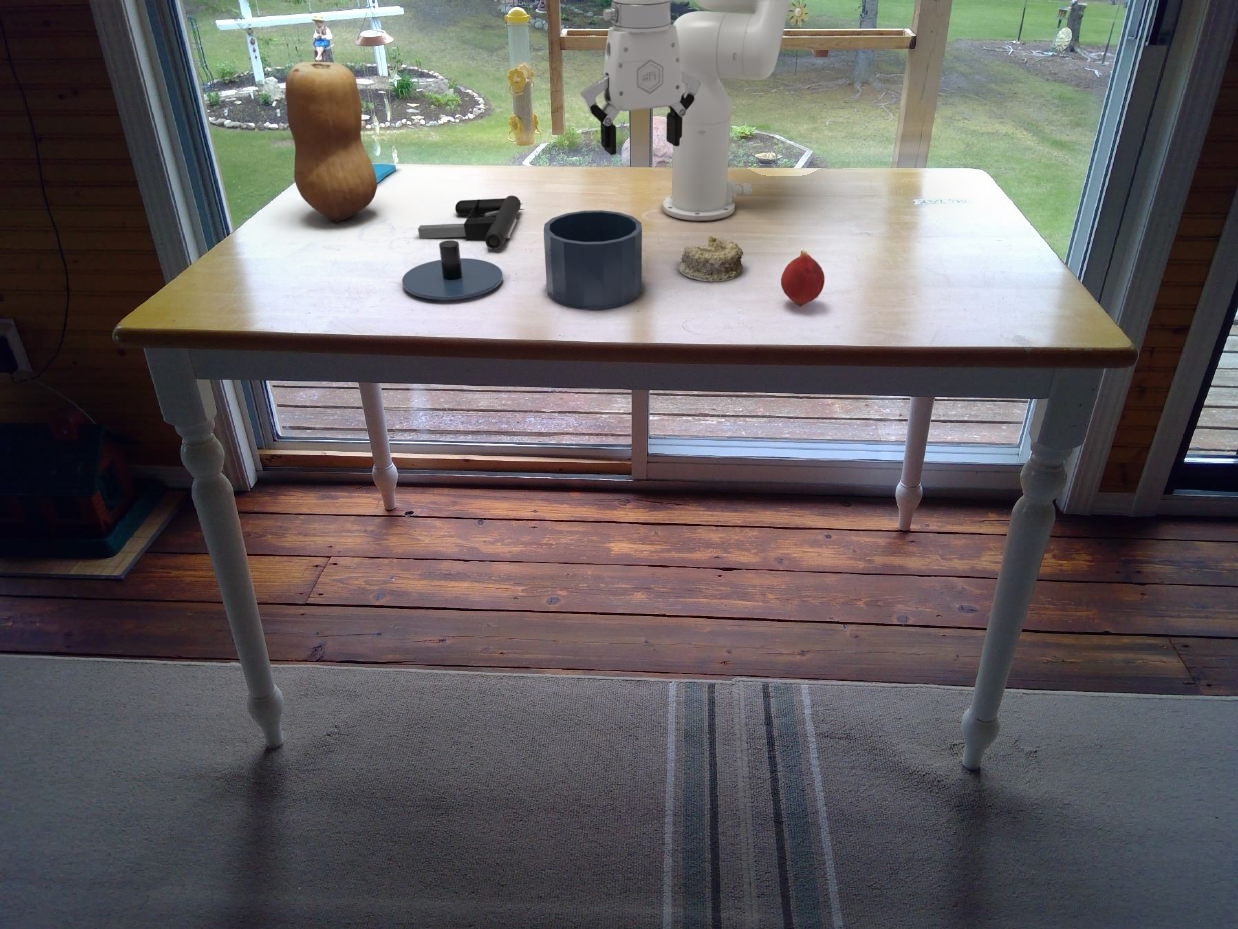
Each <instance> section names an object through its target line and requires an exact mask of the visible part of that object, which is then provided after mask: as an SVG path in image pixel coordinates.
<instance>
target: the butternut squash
mask: <svg viewBox="0 0 1238 929" xmlns="http://www.w3.org/2000/svg"><path fill="white" fill-rule="evenodd" d="M284 88H285V90H284V91H285V104H286V117H287V124H288V128H289V131H290V133H291V135H292V138H293V139H292V140H293V142H294V151H295V152H294V170H293V171H294V173H293V179H294V183H295V186H296V189H297V191H298V193H299V194H300V196H301V197H302V199H303V200H304V201H305V202H306V203H307V204H308V205H309V206H310V207H311V208H312V209H314V210H315V211H316V212H318V213H319V214H320V215H321V216H322V217H324V218H326V219H327V220H328V221H330V222H331V223H337V222H341V221H343V220H345V219H347V218H351V217H353V216H355V215H357V214H358V213H359V212H361V211H363V209H365V208H366V207H368V206H369V205H370V204H371V203H372V201H373V200H374V198H375V196H376V194H377V190H378V183H377V181H376V175H375V171H374V168H373V165H372V164H373V162H372V161H371V158H370V156H369V155H368V153H367V151H366V149H365V147H364V144H363V140H362V134H361V132H362V125H363V124H362V121H363V116H362V115H363V114H362V109H363V108H362V100H361V96H360V91H359V87H358V83H357V78H356V76H355V75H354V73H353V72H352V70H351V69H349V68H348V67H346V66H345V65H343V64H342V63H339V62H330V61H324V62H320V61H302V62H298V63H296V64H295V65H293V66H292V68H291V69H289V71H288V73H287V75H286V79H285V87H284Z"/></svg>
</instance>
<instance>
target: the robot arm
mask: <svg viewBox="0 0 1238 929" xmlns="http://www.w3.org/2000/svg"><path fill="white" fill-rule="evenodd" d="M693 1H694V2H695V4H696V5H698V6H699V7H700V8H702V9H705V10H698V11H691V12H687V13H684V14H682V15H681V16H679V17H678V18H676V20H675V21H673V24H671V3H672V2H671V0H612V1H611V5H610V6H611V7H608V8H605V9H603V11H602V14H603V15H602V17H603V20H604V21H609V22H611V24H612V26H611V27H609V28H608V33H607V38H606V44H605V50H604V51H605V52H604V62H603V76H602V77H600V78H599V79H597V80H596V81H594V82H593V83H592V84H590V85H589V86H588V87H586V88H584V89H583V90H582V91H581V92H580V97H581V98H582V100H583V102H584V104H585V106H586V108H587V110H588V112H589V113H590V114H591V115H592V116H593V117H594V118H595V119H596V120H598V122H600V144H601V147H602V148H603V150H604V151H605V152H607V154H609V155H610V156H615V155H617V126H616V125H615V124H614V121H615V119H616V118H617V117H618V115H619V113H620V112H635V111H642V110H650V109H660V108H668V109H669V112H667V114H666V136H665V137H666V138H665V139H666V142H667V143H669V144H670V145H672V164H671V165H672V167H671V168H672V169H671V195H670V196H668V197H667V198H665V199H664V200H663V201H662V211H663V212H664V213H665V214H666V215H667V216H670V217H673V218H676V219H679V220H683V221H694V222H705V221H707V222H708V221H716V220H720V219H724V218H727V217H729V216H731V215H732V214H734V212H735V210H736V209H735V208H736V204H735V201H734V200H733V199H735V198H736V197H737V196H747V195H751V194H752V191H753V188H752V185H751V183H750V182H746V183H741V184H740V183H739V184H738V182H737V181H731V182H729V181H728V176H729V175H728V174H729V173H728V172H729V158H730V157H729V156H730V137H731V120H732V104H731V99H730V97H729V94H728V92H727V91H726V89H725V86H724V85H723V83H722V82H721V80H720V79H729V80H743V81H762V80H765V79H767V78H769V77H770V76H771V75H772V74H773V73H774V70H775V68H776V66H777V63H778V59H779V55H780V50H781V46H782V41H783V36H784V32H785V26H786V22H787V17H788V11H789V7H790V2H791V0H693ZM706 10H709V11H706ZM602 93H603V98H604V101H605V103H604V104H603V106H602V107H600V106H599V105H598V102H597V101H596V98H597V96H599V95H600V94H602Z"/></svg>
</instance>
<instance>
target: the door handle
mask: <svg viewBox="0 0 1238 929" xmlns="http://www.w3.org/2000/svg"><path fill="white" fill-rule="evenodd" d="M521 206H522V202H521V200H520V199H519V197H518V196H516V195H508V196H506V197H505V198H502V197H501V198H483V199H481V198H480V199H479V198H478V199H462V200H458V201H457V202H456V204H455V206H454V210H455V213H456V214H457V215H459V216H467V218H466V219H465V221H464V223H444V224H443V223H442V224H420V225H419V226H418V227H417V230H418V237H419V239H439V238H441V239H443V238H461V237H463V238H464V237H465V240H466V241H467V242H468V241H484V242H485V245H486V246H487V248H488V249H490V250H498V249H499V248H501V247H502V246H503V245H504V243H505V241H506V240H510V239H511V235H512V232H513V230H514V228H515V226H516V225H517V224H516V223H517V222H518V221H517V220H518V219H517V215H518V214H519V211H523V210H525V208H521ZM482 215H483V216H484V217H481V216H482Z"/></svg>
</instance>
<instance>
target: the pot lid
mask: <svg viewBox="0 0 1238 929" xmlns="http://www.w3.org/2000/svg"><path fill="white" fill-rule="evenodd" d="M438 247H439V256H440V259H437V260H432V261H429V262H428V261H427V262H424V263H421V264H419V265H416V266H414V267H413V268H411V269H410V270H408V271H406V272H405V273H404V275H403V276H402V279H401V282H402V287H403V289H404V290H405V291H406V292H408V293H409V294H410V295H413V296H415V297H419V298H422V299H429V300H438V301H439V300H440V301H449V300H450V301H451V300H462V299H467V298H473V297H477V296H480V295H483V294H486V293H489V292H490V291H492V290H494V289H496V288H497V287H498V286H499V285H500V284H501V283H502V281H503V277H504V275H503V270H502V269H501V268H500V267H499V266H498V265H497V264H495V263H492V262H490V261H487V260H483V259H477V258H468V257H467V258H465V257H461V251H460V243H459V241H457V240H452V239H451V240H449V239H448V240H443V241H441V242H439V243H438Z"/></svg>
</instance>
